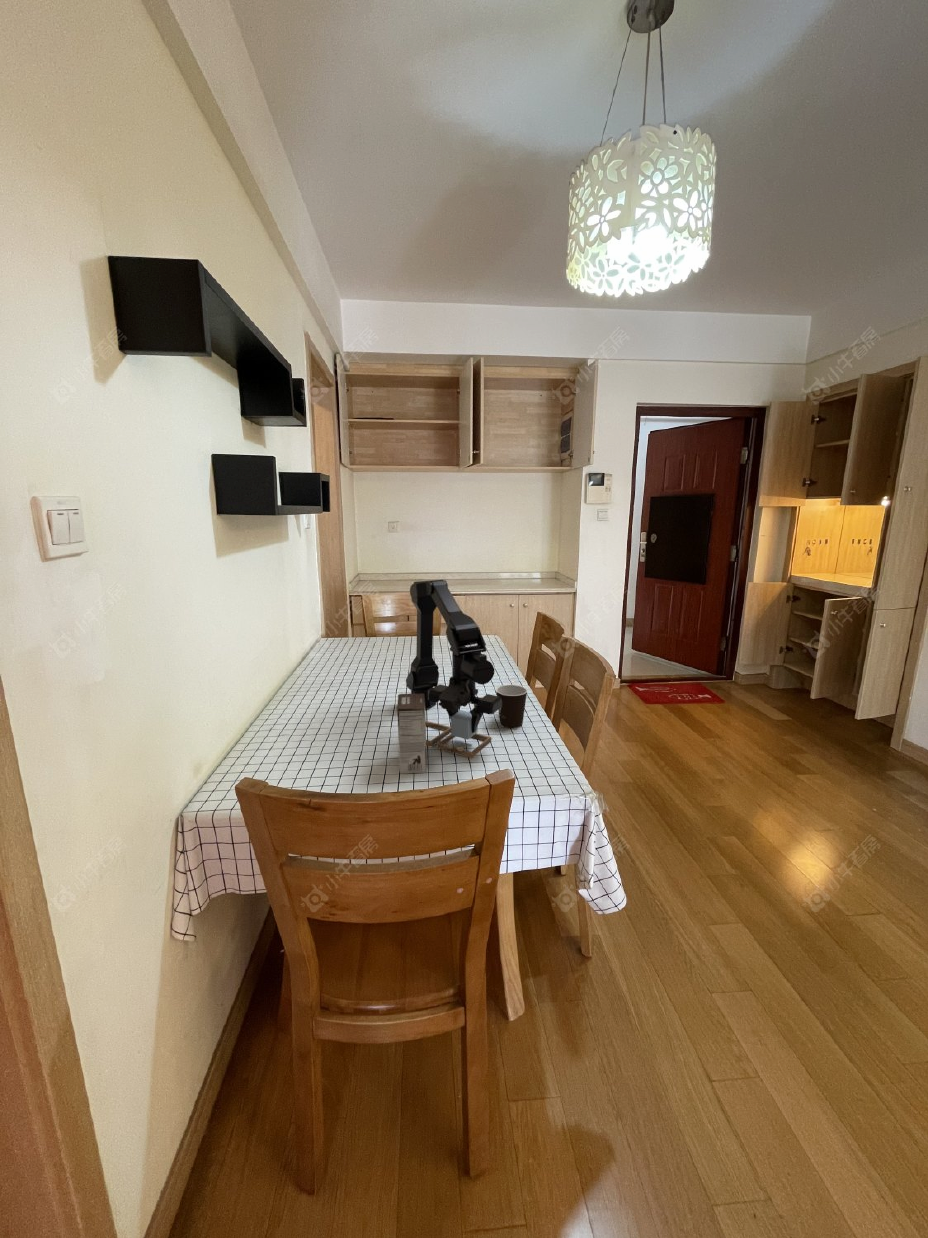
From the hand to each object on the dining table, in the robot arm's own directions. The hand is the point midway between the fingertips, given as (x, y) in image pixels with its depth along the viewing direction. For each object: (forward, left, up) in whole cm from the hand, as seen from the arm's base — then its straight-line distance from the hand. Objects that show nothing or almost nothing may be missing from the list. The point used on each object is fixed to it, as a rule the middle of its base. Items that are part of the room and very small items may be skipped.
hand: (464, 730), depth 123 cm
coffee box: (-6, -14, -4) cm, 16 cm away
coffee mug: (+5, +19, -4) cm, 20 cm away
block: (0, 0, -1) cm, 1 cm away
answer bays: (-6, 0, -4) cm, 7 cm away
